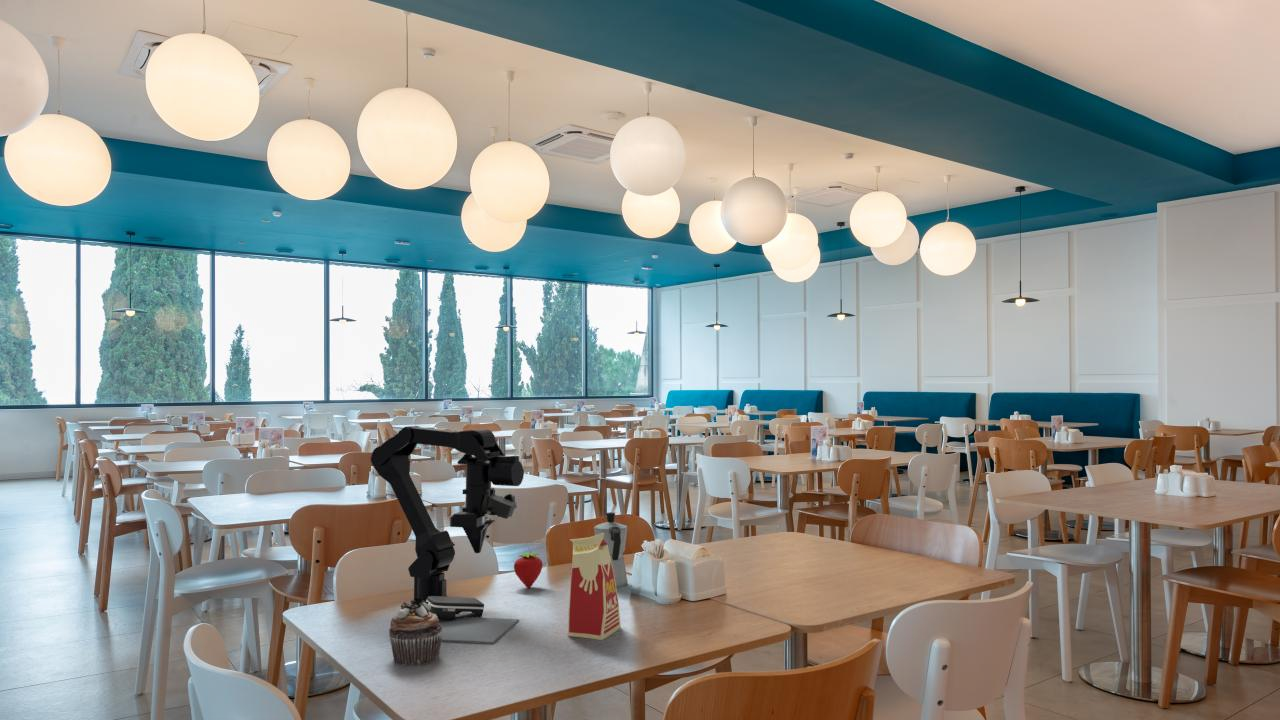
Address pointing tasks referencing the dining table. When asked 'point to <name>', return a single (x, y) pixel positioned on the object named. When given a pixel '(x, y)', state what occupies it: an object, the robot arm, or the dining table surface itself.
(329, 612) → the dining table surface
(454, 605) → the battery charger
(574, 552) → the milk carton
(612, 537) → the coffee maker
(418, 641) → the cupcake
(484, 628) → the mat
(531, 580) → the strawberry
